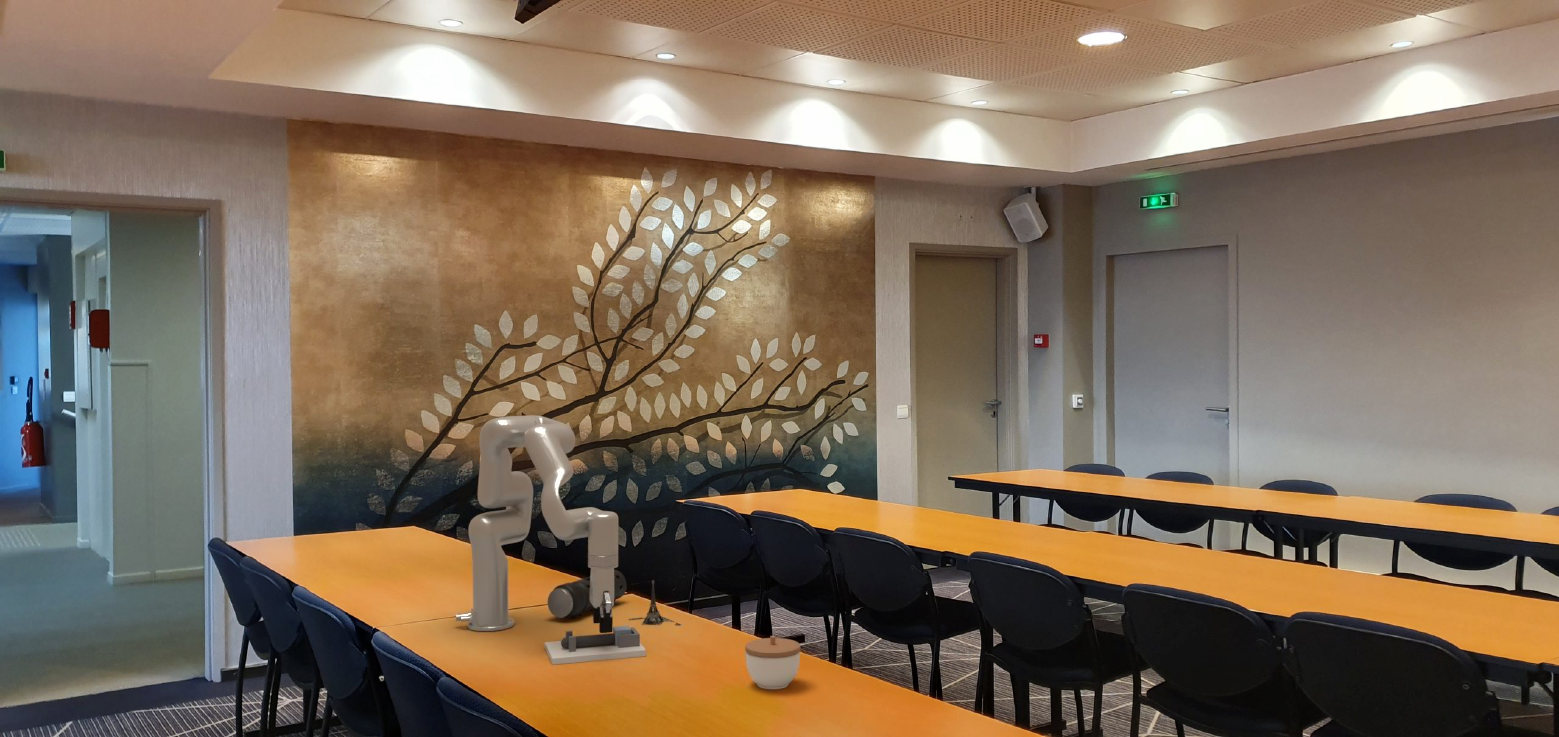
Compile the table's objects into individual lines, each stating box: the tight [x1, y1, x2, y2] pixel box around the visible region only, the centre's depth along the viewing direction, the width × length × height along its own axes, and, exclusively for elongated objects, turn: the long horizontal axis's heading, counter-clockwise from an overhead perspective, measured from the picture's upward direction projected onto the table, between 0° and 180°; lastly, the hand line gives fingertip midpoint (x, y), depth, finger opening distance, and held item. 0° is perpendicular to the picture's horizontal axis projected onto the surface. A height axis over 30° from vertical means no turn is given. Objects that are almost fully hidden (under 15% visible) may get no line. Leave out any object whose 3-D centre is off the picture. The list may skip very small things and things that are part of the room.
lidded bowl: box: [744, 635, 802, 691], centre depth 250 cm, size 13×13×11 cm
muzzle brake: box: [547, 569, 628, 619], centre depth 322 cm, size 10×28×10 cm, turn 155°
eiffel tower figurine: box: [628, 580, 682, 627], centre depth 309 cm, size 15×10×13 cm
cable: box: [560, 625, 631, 649], centre depth 279 cm, size 17×4×4 cm, turn 108°
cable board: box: [544, 626, 647, 666], centre depth 278 cm, size 23×16×5 cm
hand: (602, 627), depth 279 cm, fingers open, 9 cm apart
